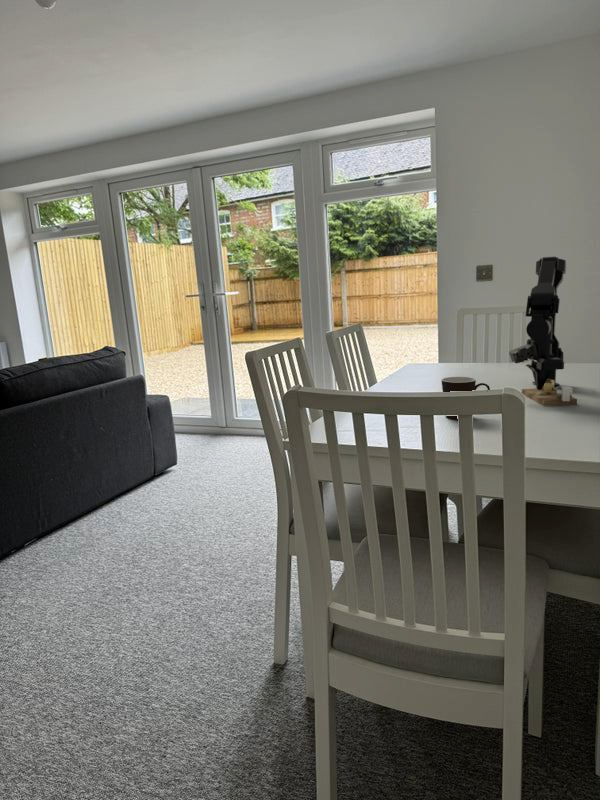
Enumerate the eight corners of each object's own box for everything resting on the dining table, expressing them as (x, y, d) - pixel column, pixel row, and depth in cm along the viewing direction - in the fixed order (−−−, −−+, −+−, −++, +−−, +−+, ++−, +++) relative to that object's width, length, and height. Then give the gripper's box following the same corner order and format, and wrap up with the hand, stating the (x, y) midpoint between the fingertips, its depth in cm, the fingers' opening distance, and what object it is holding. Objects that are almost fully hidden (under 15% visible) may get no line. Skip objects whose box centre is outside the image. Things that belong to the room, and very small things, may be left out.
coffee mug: (437, 419, 148) (437, 381, 146) (445, 412, 155) (445, 376, 153) (484, 423, 143) (484, 383, 141) (490, 415, 150) (491, 377, 148)
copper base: (521, 393, 174) (521, 388, 173) (551, 392, 173) (551, 386, 173) (543, 405, 157) (543, 399, 157) (576, 404, 157) (577, 398, 156)
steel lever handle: (555, 395, 161) (556, 385, 161) (571, 395, 160) (571, 385, 160) (557, 401, 154) (558, 390, 154) (574, 401, 153) (574, 391, 152)
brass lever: (539, 387, 173) (539, 378, 173) (553, 387, 172) (554, 378, 171) (540, 392, 166) (541, 382, 165) (555, 392, 164) (556, 383, 164)
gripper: (502, 334, 172) (500, 385, 176) (524, 340, 154) (522, 397, 157) (539, 332, 172) (537, 383, 175) (566, 338, 154) (563, 395, 157)
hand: (539, 389), depth 166 cm, fingers closed
